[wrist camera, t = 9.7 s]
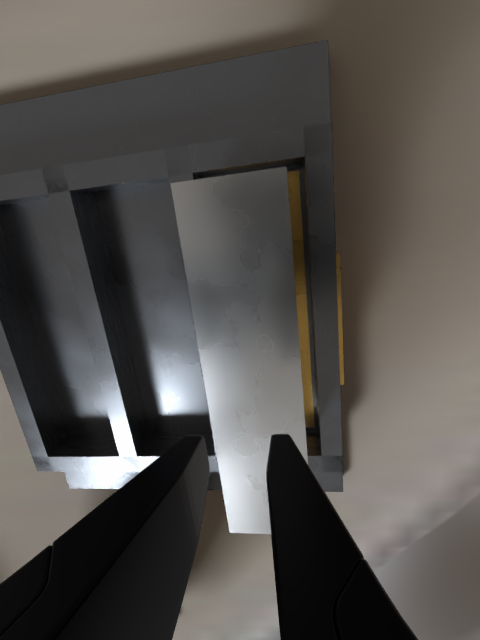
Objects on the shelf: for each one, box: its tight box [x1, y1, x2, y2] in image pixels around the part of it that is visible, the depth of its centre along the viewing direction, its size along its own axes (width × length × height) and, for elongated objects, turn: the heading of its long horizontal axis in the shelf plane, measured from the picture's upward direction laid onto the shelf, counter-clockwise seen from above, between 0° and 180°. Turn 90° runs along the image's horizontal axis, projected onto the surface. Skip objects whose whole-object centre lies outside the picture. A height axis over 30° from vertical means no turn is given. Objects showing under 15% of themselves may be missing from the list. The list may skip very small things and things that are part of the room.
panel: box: [170, 167, 308, 534], centre depth 14 cm, size 12×3×7 cm, turn 7°
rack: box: [0, 40, 344, 492], centre depth 18 cm, size 22×18×3 cm
